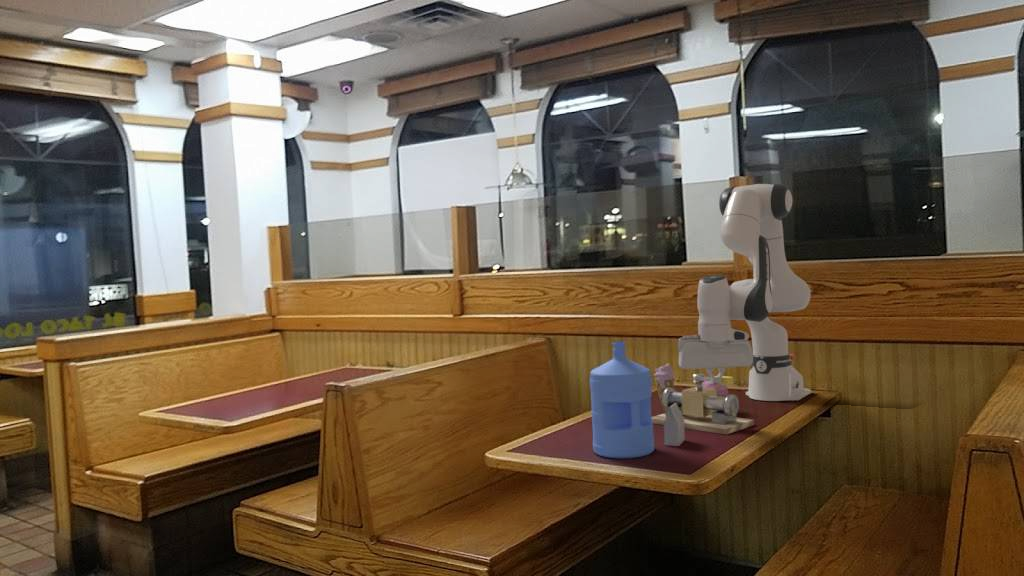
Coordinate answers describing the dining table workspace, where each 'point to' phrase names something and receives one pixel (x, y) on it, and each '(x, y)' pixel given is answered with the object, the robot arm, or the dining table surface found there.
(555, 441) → the dining table surface
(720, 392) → the cupcake
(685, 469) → the dining table surface
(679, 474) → the dining table surface
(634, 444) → the water jug
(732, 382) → the lever
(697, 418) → the valve assembly
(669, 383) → the ice cream cone
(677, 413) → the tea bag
